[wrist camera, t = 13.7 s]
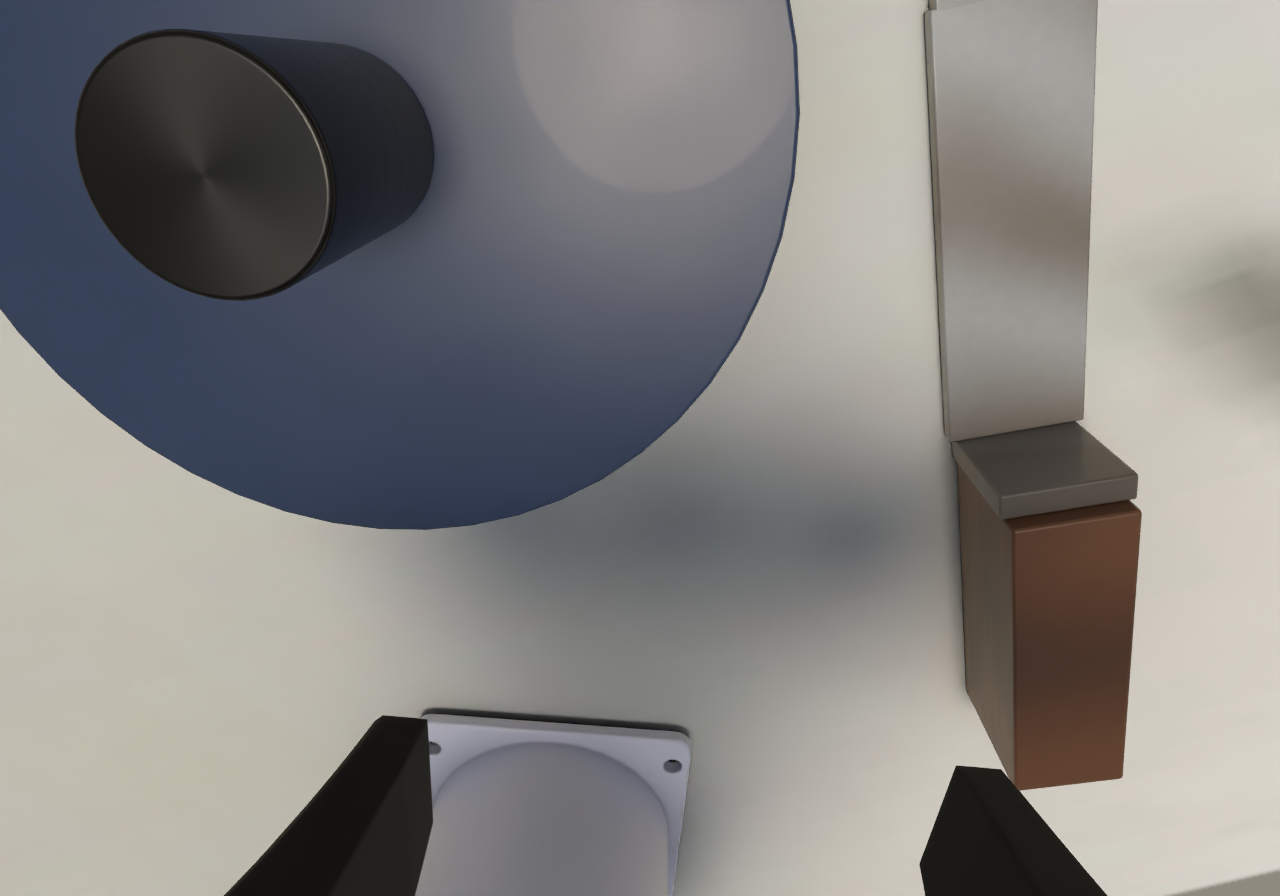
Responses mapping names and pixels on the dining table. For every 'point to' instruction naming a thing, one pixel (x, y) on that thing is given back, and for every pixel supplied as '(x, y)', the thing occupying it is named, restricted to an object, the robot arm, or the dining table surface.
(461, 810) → the robot arm
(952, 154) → the knife
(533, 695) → the dining table surface
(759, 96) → the pot lid
